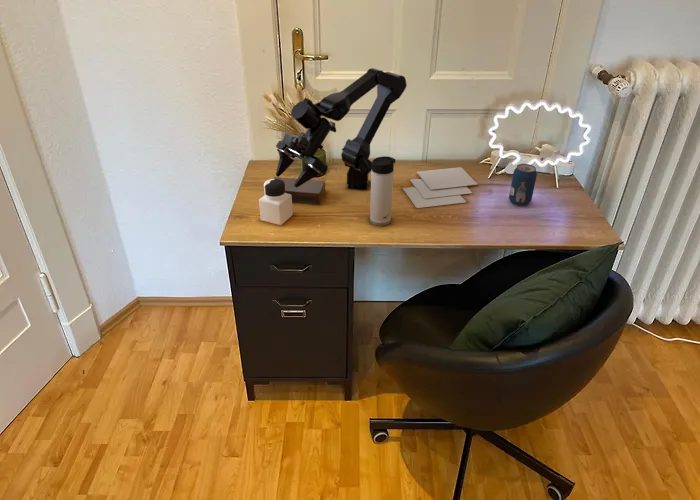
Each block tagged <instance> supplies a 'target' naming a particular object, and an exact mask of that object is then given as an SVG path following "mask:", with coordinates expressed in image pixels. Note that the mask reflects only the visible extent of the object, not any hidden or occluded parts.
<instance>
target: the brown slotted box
mask: <svg viewBox="0 0 700 500" xmlns="http://www.w3.org/2000/svg"><path fill="white" fill-rule="evenodd" d="M272 179H280V180H282V181H283V182H284V183H285V193H287V194H291V195H292V204H293V203H294V204H304V205H316V206H317V205H318V206H320V205H321V203H322V200H323V198H324V196H325V194H326V181H325V180H319V179H318V180H317V179H310V180H308V181H307V182H305V183H304V184H302V185H300V186H299V187H297V188H296V187H295V186H294V185H295V183H296V181H297V179H298V178H295V177H294V178H293V177H281V176H279V177H277V176H273V178H272Z"/></svg>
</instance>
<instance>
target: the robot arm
mask: <svg viewBox="0 0 700 500" xmlns="http://www.w3.org/2000/svg"><path fill="white" fill-rule="evenodd" d="M407 84H408V83H407V80H406V77H405V75H402V74H398V73H395V72H392V71H383V70H381V69H378V68H375V67H371V68H369V69H368V70H367V71H366V72H365V73H364V74H363V75H361V76H360V77H359V78H357V79H356V80H355V81H353V82H352V83H351V84H349V85H348V86H347V87H344V89H343V90H341V91H338V92H334V93H330V94H328V95H327V96H324V97H323V98H322V99H320V101H318V102H316V103H313V101H312V100H311V99H310V98H307V97H304V99H303V100H302V101H298V102H297V103H296V104H294V105H293V106H292V107H291V112H290V115H291V117H292V118H293V119H294V120H295V121H296V122H297V123H298V124H300V126H301V127H303V128H304V129H306V131H305V132H300V133H299V135H296V134H293V133H288V132H284V136H283V139H281V140H278V142H277V143H276V145H275V148H276V151H277V152H278V156H279V158H278V164H277V168H276V172H275V177H281V176H282V174H284V173H285V172H286V171H287V169H288V168H289V167H290V166H291V165H292V164H293V163H294V162H295V160H294V159H299V160H301V161H302V170H301V172H300V174H299V176H298V177H297V178H296V179H297V181H296V183H295V185H294V186H295V187H296V188H297V187H299V186H300V185H302V184H304V183H305V182H307V181H308V180H313V179H314V178H316V177H318V176H319V177H320V176H322V175H323V176H324V175H326V173H327V171H328V169H329V168H328V166H329V165H328V164H326V162H324V161H323V160H322V159H321V158H319V157H318V156H315V155H316V154H317V152H318V151H319V149H320V150H322V149H324V146H323V145H322V144H323V142H324V141H325V139H326V138H327V136H328V134H329V133H330V132H332V133H336V132H337V127H336V122H340V121H341V120H342V119H344V117H345V116H346V115H347V114H348V113H349V112H350V110H351V107H352V106H353V105H354V104H355V103H356V102H357V101H359V100H361V98H363V97H364V96H365V95H367V94H368V93H369V92H371V90H373V89H374V88H375V87H376V98H375V100H374V102H373V103H372V106H371V108H370V110H369V111H368V114H367V115H366V118H365V119H364V121H363V123H362V125H361V127H360V129H359V131H358V133H357V134H356V137H354V138H353V139H350V138H348V139H347V140H346V141H345V144H344V145H343V147H342V149H341V151H342V152H341V154H340V157H341V161H342V162H343V164H344V167H347V168H348V170H347V172H346V185H347V189H349V190H361V191H362V190H363V191H367V190H368V187H369V184H370V179H369V178H370V177H369V174H371V173H370V172H372V171H371V169H372V161H371V160H370V155H371V143H372V142H373V140H374V137H375V136H376V134H377V132H378V130H379V128H380V126H381V124H382V122H383V120H384V118H385V116H386V114H387V112H388V110H389V109H390V106H391V105H392V104H393V103H394V102H396V101H397V100H398V99H400V98H401V96H402V95H403V93H404V92H405V91H406V88H407V86H408V85H407ZM328 119H329V120H328ZM331 120H332V121H331ZM335 121H336V122H335Z"/></svg>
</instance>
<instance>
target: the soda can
mask: <svg viewBox="0 0 700 500" xmlns="http://www.w3.org/2000/svg"><path fill="white" fill-rule="evenodd" d="M537 177H538V173H537V167H536V166H534V165H532V164H531V163H530V164H529V163H519V164H517V165H516V167H515V168H514V169H513V173H512V179H511V184H510V189H509V193H508V199H509V202H510V204H511V205H513V206H516V207H519V208H521V207H527V206H528V205H530V204H531V202H532V199H533V194H534V190H535V187H536V181H537Z"/></svg>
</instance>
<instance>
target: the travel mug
mask: <svg viewBox="0 0 700 500" xmlns="http://www.w3.org/2000/svg"><path fill="white" fill-rule="evenodd" d="M371 162H372V169H371V171H370V172H371V173H370V200H369V201H370V203H369V222H370V223H371V224H372V225H373V226H374V225H375V226H379V227H384V226H388V225H389V224H390V223H391V221H392V206H393V190H394V189H393V187H394V173H395V172H394V171H395V169H394V168H395V164H396V158H393V157H392V156H385V155H384V156H378V157H375V158H373V160H372V161H371Z"/></svg>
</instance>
